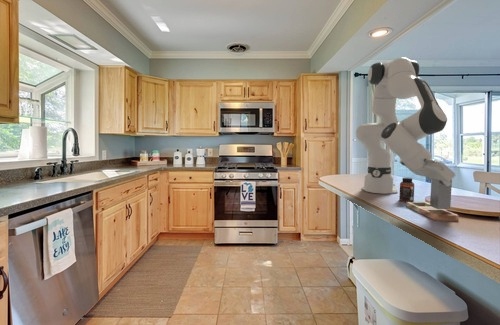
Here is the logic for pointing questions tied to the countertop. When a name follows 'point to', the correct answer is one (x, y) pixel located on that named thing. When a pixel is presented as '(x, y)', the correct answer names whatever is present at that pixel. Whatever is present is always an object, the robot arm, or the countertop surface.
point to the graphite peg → (440, 195)
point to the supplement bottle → (406, 190)
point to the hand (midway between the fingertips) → (442, 183)
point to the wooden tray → (433, 211)
